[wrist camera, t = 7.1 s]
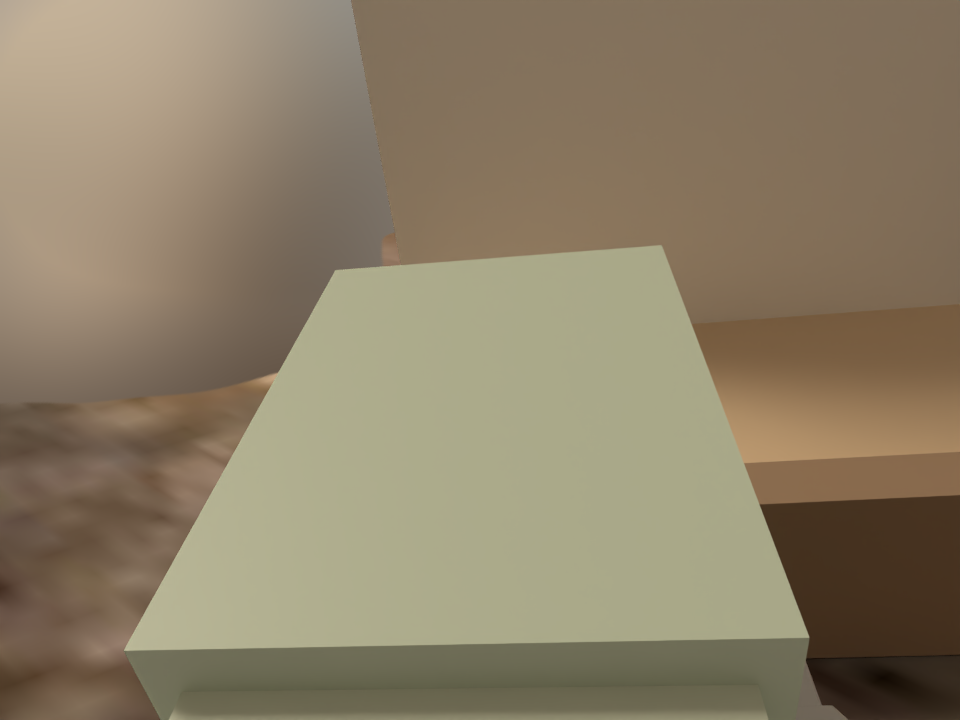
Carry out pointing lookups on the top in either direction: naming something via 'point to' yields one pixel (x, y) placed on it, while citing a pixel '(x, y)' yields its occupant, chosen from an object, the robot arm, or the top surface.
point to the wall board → (733, 239)
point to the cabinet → (483, 516)
